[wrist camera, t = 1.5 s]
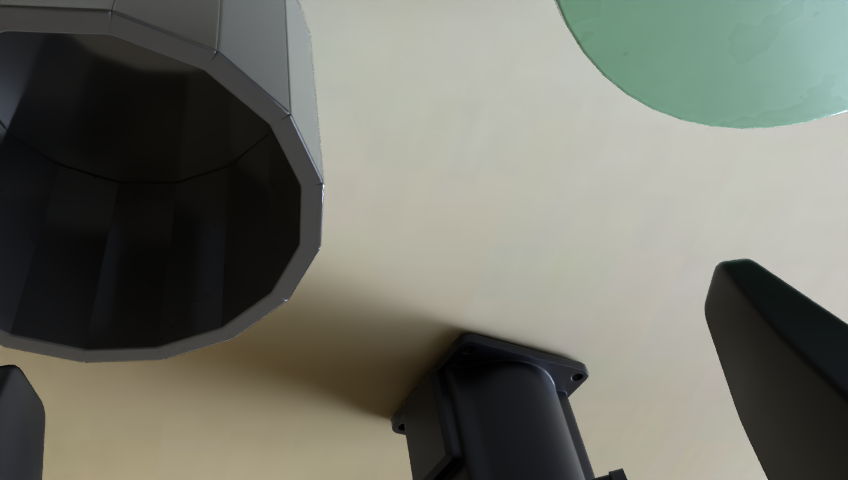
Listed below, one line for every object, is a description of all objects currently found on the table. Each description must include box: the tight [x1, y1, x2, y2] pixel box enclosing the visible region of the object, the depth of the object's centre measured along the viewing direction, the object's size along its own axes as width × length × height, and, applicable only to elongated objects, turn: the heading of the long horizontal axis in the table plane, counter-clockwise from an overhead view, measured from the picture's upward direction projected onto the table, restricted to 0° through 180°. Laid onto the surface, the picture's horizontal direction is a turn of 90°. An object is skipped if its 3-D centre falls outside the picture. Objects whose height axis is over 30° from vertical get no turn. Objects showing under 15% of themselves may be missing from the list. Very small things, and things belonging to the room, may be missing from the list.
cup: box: [0, 0, 324, 363], centre depth 19 cm, size 9×9×7 cm
